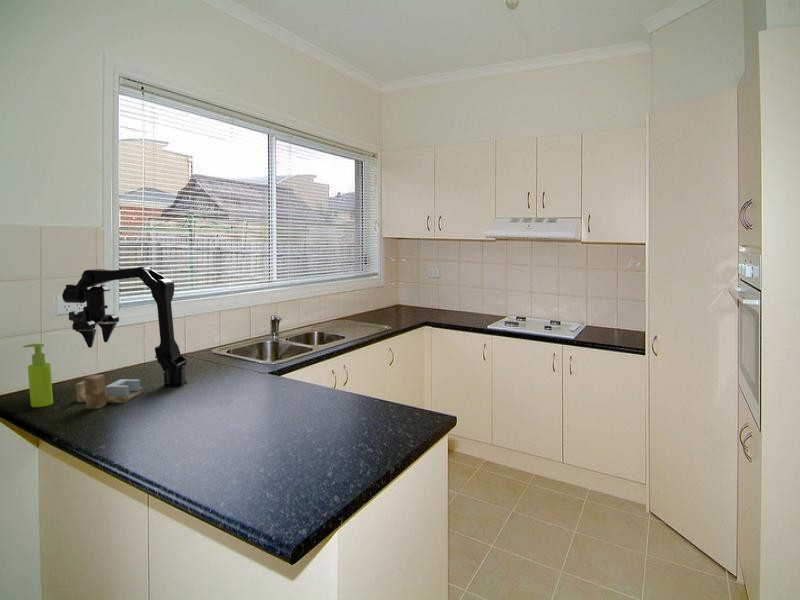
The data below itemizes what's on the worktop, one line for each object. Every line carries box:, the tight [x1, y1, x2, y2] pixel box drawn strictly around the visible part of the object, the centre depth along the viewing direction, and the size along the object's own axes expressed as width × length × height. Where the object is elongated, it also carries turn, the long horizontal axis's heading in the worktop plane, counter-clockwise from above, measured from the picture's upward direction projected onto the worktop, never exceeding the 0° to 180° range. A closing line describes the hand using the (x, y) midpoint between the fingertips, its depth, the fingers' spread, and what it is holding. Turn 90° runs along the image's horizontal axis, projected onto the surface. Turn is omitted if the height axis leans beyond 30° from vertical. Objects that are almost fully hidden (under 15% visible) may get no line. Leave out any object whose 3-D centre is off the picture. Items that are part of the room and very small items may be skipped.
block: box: [105, 378, 142, 398], centre depth 165 cm, size 7×9×4 cm
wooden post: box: [83, 374, 107, 410], centre depth 155 cm, size 4×4×10 cm
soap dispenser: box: [22, 343, 54, 408], centre depth 156 cm, size 6×7×20 cm
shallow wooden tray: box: [75, 380, 144, 404], centre depth 165 cm, size 16×11×6 cm
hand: (98, 344), depth 179 cm, fingers open, 9 cm apart
